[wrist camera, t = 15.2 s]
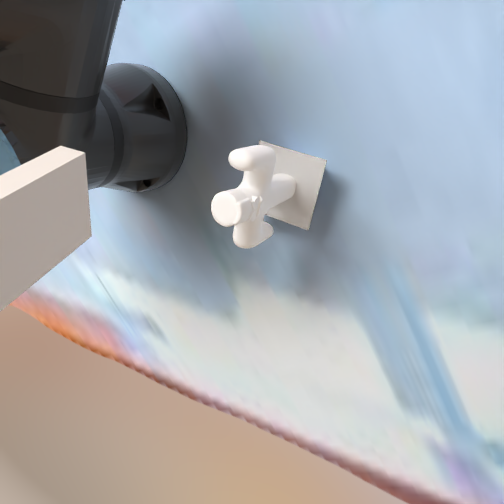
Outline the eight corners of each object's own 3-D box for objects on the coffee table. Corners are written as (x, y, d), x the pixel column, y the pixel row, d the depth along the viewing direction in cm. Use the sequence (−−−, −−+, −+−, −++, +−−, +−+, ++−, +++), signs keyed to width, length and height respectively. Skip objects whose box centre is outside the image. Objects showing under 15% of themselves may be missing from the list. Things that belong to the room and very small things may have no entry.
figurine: (260, 209, 50) (181, 248, 37) (277, 126, 46) (195, 139, 33) (318, 230, 47) (254, 280, 35) (341, 144, 43) (279, 165, 31)
